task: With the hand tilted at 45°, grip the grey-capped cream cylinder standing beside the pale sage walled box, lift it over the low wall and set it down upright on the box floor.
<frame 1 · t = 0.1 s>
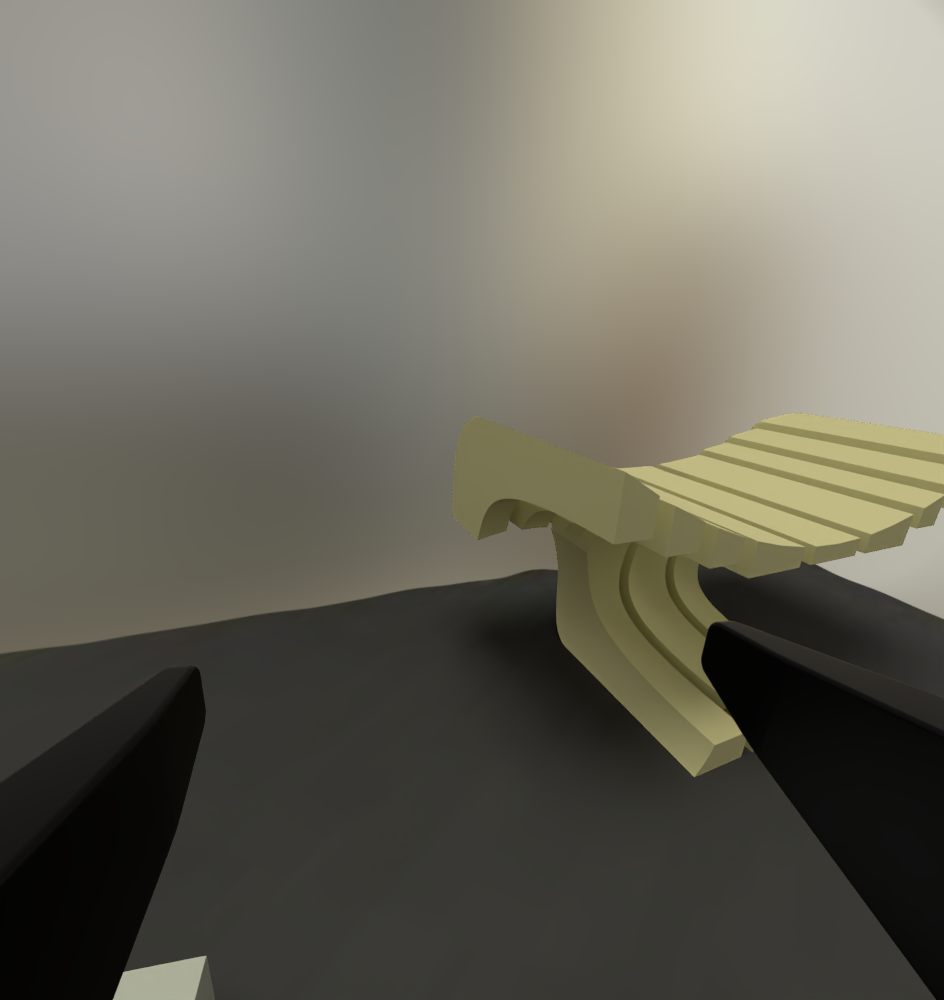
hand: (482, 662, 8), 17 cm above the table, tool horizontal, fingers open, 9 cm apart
slatted curved stool: (670, 664, 35), on the table
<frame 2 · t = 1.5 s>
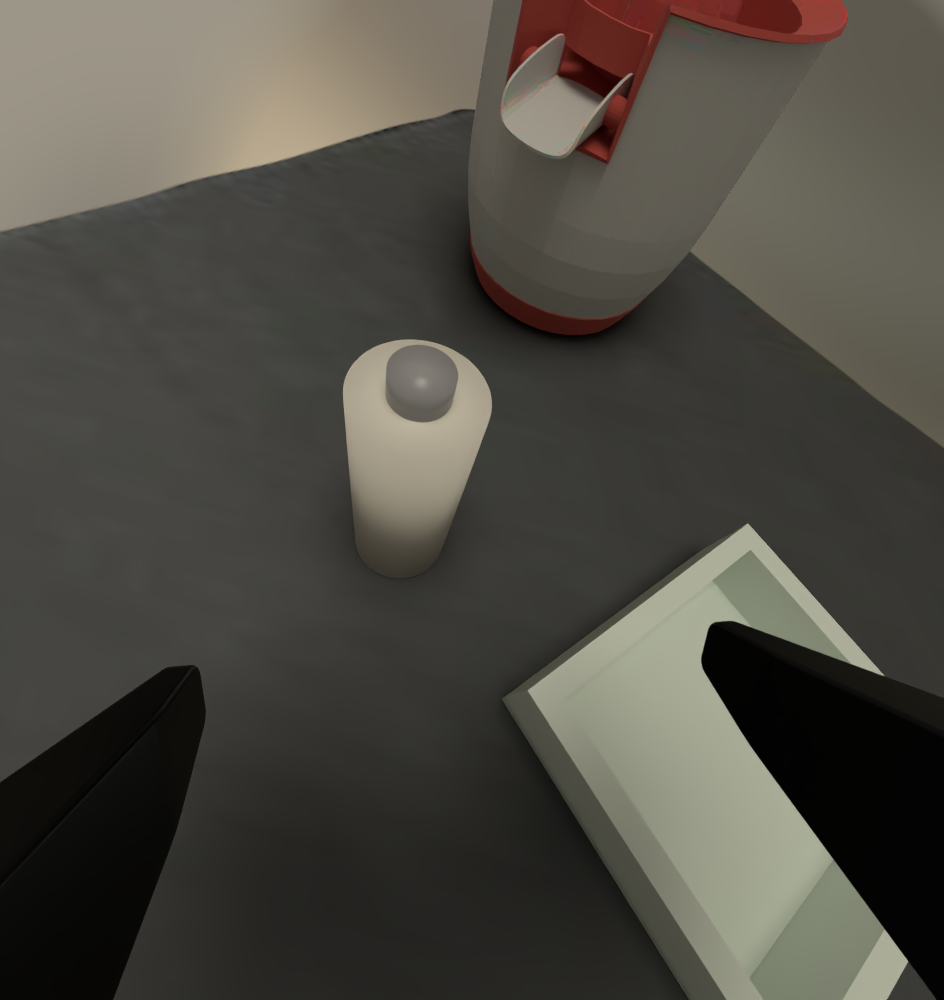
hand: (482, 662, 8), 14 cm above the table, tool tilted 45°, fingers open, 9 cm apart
citrus juicer: (543, 289, 35), on the table
walled box: (707, 747, 22), on the table
grey-capped cream cylinder: (400, 536, 24), on the table
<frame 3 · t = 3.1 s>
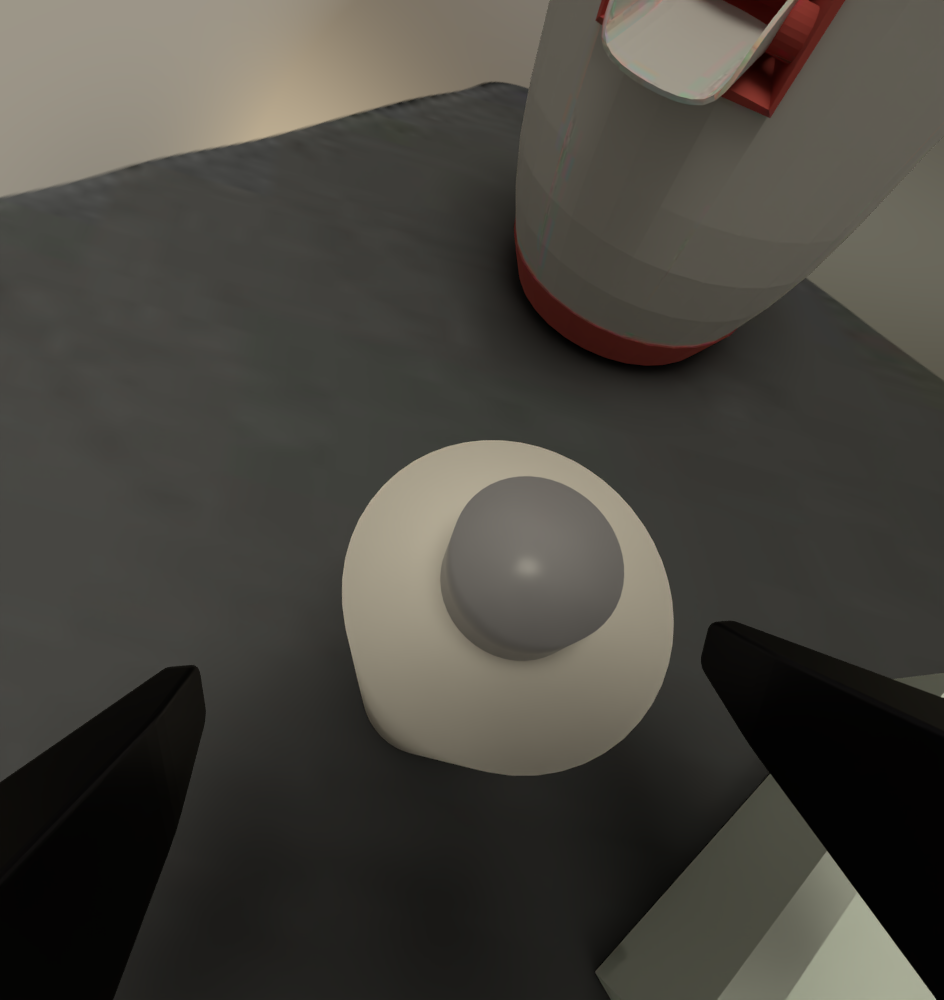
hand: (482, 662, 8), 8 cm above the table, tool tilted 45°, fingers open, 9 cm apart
citrus juicer: (604, 303, 27), on the table
grey-capped cream cylinder: (428, 680, 16), on the table
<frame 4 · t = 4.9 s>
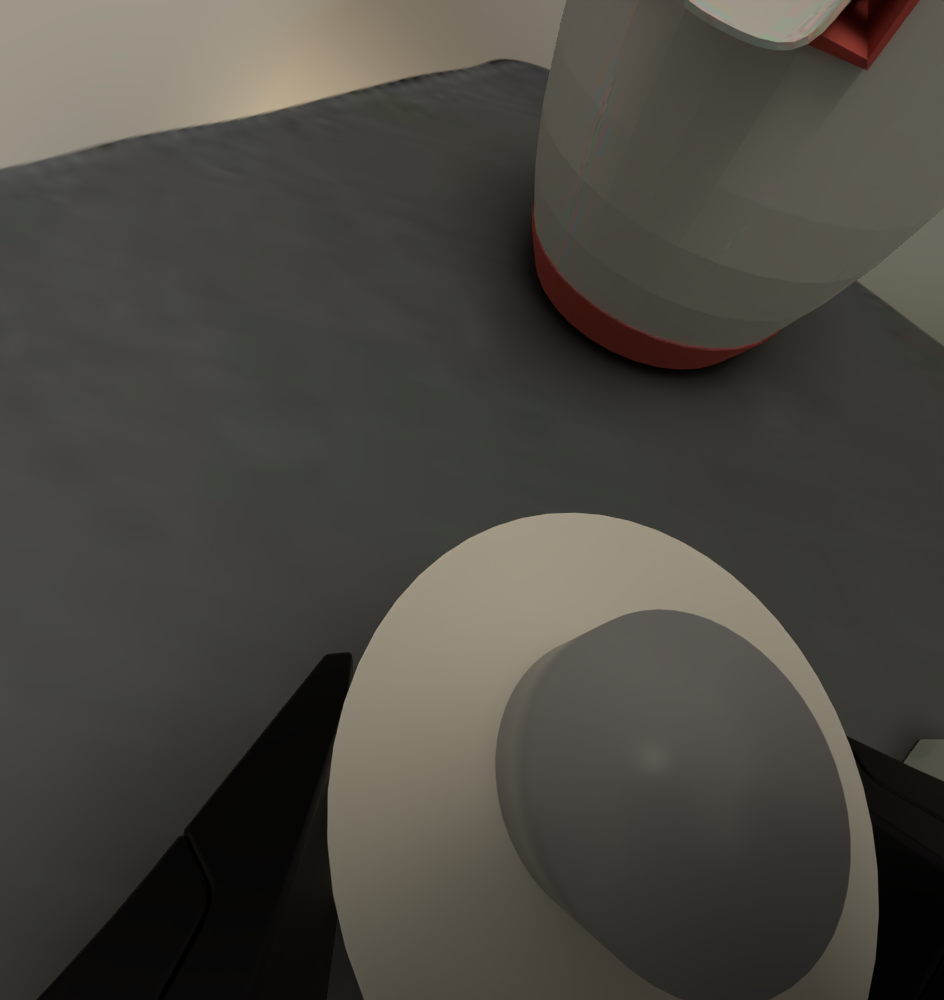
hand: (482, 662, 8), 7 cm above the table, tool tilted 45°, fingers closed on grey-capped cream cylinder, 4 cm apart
citrus juicer: (629, 300, 24), on the table
grey-capped cream cylinder: (440, 746, 13), on the table, touching gripper
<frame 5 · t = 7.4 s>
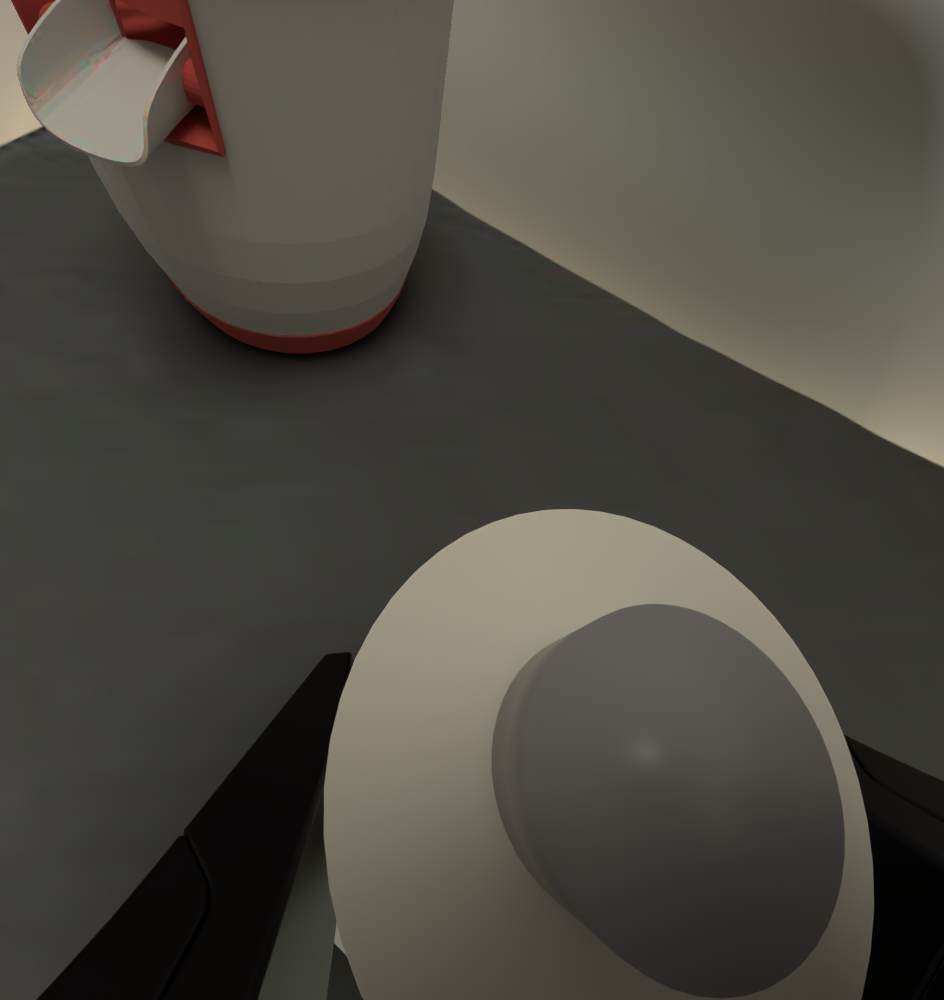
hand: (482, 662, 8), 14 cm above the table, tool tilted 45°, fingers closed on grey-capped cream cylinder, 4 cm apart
citrus juicer: (291, 297, 29), on the table
grey-capped cream cylinder: (439, 744, 13), point 7 cm above the table, touching gripper
when the fingers open (8 cm above the table, at t = 10.1 s): grey-capped cream cylinder stays where it is, resting on walled box.
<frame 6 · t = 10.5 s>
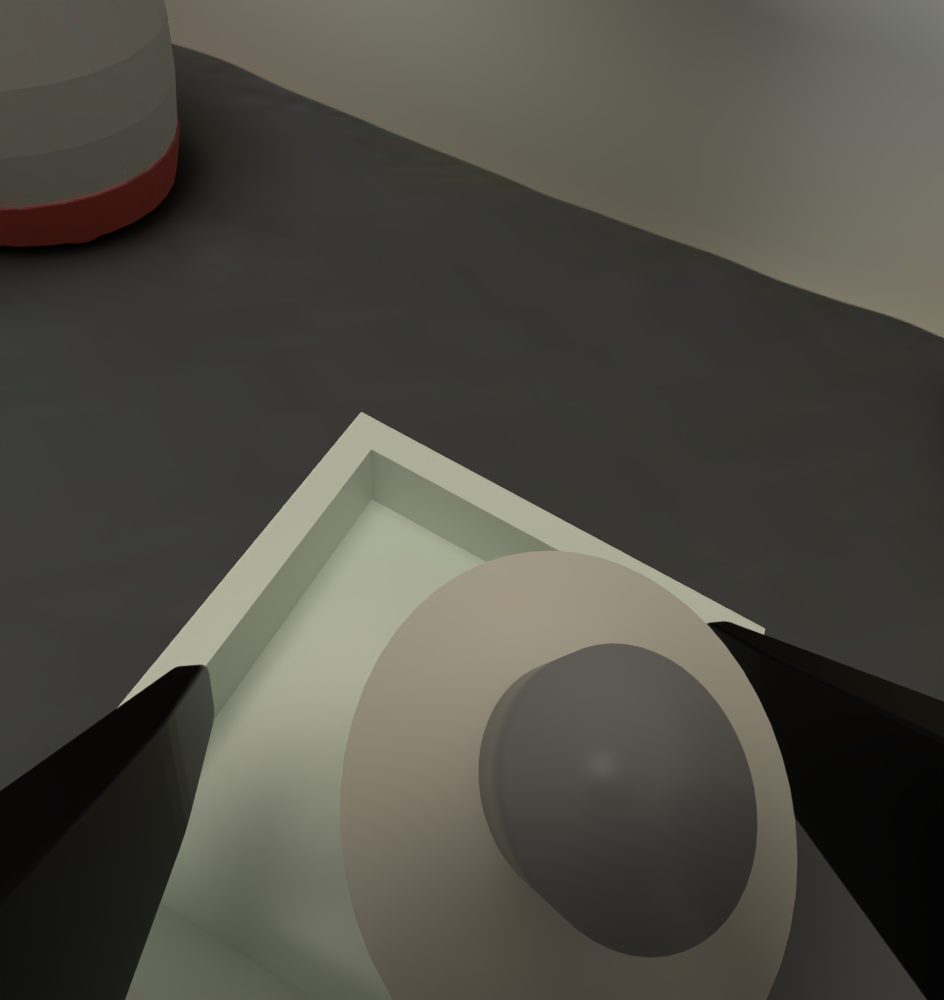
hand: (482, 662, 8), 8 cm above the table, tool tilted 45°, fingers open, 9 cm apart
citrus juicer: (34, 187, 22), on the table
walled box: (434, 745, 15), on the table
grey-capped cream cylinder: (436, 747, 14), point 1 cm above the table, touching walled box
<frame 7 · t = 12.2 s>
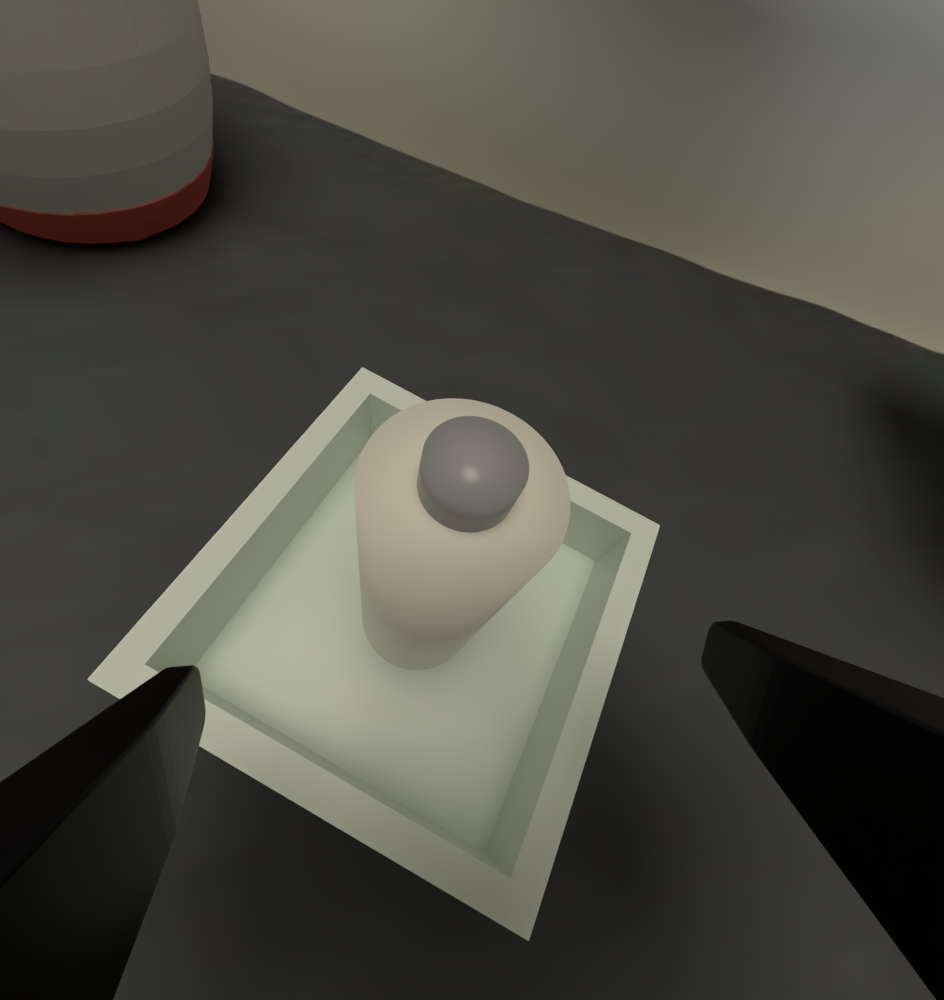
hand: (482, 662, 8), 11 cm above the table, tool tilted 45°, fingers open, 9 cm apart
citrus juicer: (95, 195, 27), on the table
walled box: (416, 614, 20), on the table
grey-capped cream cylinder: (417, 612, 19), point 1 cm above the table, touching walled box
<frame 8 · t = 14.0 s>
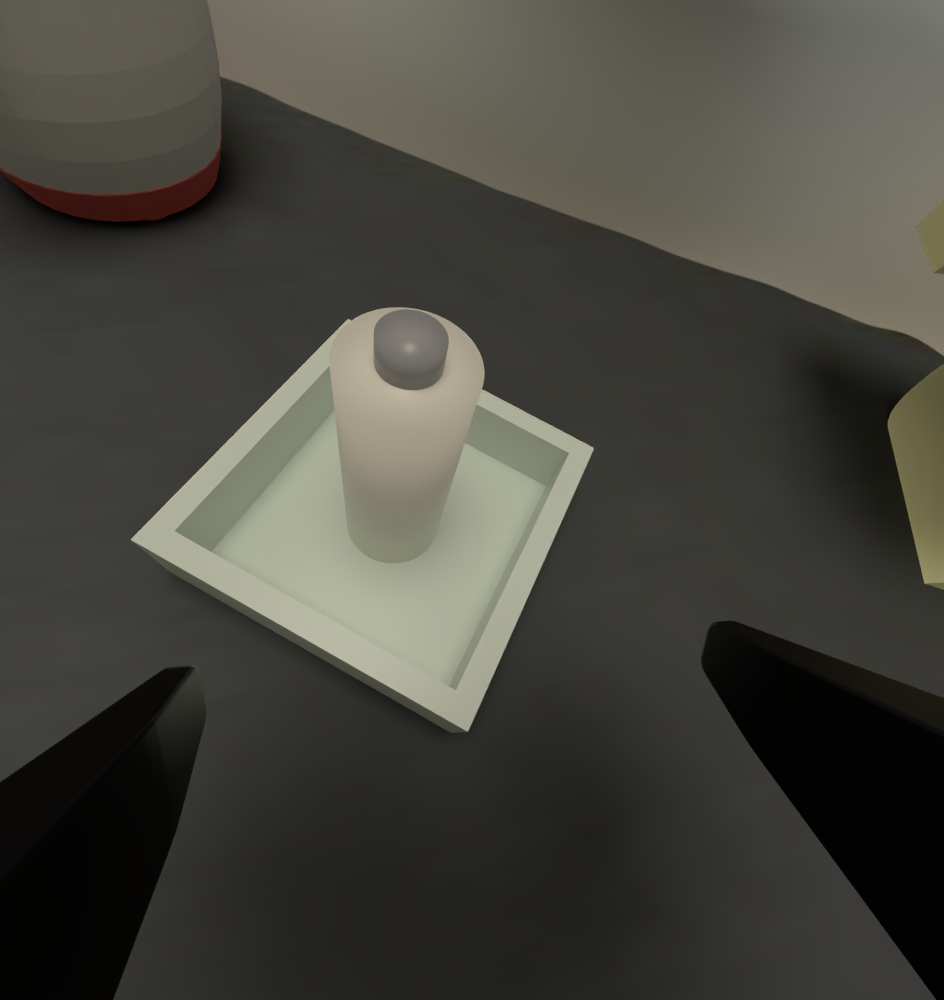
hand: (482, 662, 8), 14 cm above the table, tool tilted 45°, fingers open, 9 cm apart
citrus juicer: (119, 181, 31), on the table
walled box: (393, 524, 24), on the table
grey-capped cream cylinder: (393, 520, 23), point 1 cm above the table, touching walled box
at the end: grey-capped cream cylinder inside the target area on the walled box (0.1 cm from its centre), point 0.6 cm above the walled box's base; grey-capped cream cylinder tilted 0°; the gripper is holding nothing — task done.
